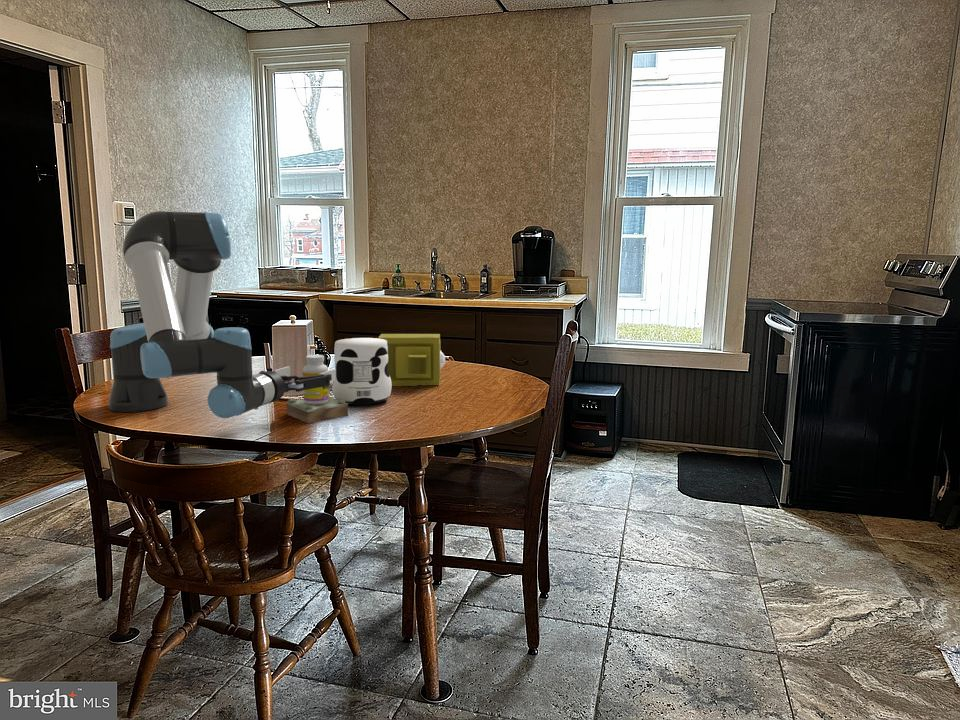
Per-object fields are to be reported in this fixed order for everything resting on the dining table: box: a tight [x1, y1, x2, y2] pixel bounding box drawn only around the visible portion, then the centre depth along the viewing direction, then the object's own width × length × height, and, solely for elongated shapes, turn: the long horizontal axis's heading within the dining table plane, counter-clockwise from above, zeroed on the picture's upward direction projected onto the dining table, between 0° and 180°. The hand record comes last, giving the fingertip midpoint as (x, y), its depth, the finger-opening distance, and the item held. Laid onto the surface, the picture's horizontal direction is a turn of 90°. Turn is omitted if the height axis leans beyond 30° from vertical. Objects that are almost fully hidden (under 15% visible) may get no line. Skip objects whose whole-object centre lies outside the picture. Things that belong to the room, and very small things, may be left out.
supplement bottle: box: [302, 354, 330, 405], centre depth 184 cm, size 7×7×13 cm
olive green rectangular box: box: [378, 333, 446, 387], centre depth 223 cm, size 35×16×16 cm
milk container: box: [331, 337, 393, 405], centre depth 200 cm, size 17×17×18 cm
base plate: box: [286, 396, 349, 424], centre depth 185 cm, size 12×12×4 cm
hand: (311, 372), depth 181 cm, fingers open, 13 cm apart
